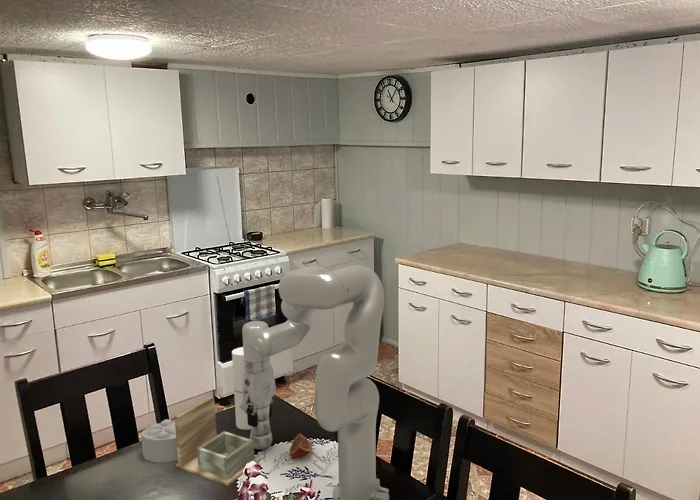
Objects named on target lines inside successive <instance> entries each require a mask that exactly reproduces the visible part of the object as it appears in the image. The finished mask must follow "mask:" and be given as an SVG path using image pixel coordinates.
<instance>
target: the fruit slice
mask: <svg viewBox="0 0 700 500" xmlns="http://www.w3.org/2000/svg"><path fill="white" fill-rule="evenodd" d="M288 451H289V452H288V454H289V455H290V456H291V457H292V458H296V459H300V458H303V457H307V456H308V455H309V454H311V452H312V451H313V446H312V443H311V441H309V439H308V438H307V437H305V435H303V434H302V433H300V432H299V433H298V434H297V435H296V436H295V437H294V438H293V440H292V443H291V445H290V448H289V450H288Z"/></svg>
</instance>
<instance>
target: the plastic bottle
mask: <svg viewBox="0 0 700 500" xmlns="http://www.w3.org/2000/svg"><path fill="white" fill-rule="evenodd" d="M250 403H251V401H250ZM252 408H253V406H251V405H250V409H252ZM269 408H270V399H267V400H266V401H265V402H264V403H262V404H261V405H259V406H257V407H256V413H255V414H257V427H253V426H251V429H250V435H249V439H251V440H253V443H254V450H257V451H259V450H260V451H262V450H267V449H268V448H270V447H271V446H272V443H273V435H272V431H271V424H270V417H269Z"/></svg>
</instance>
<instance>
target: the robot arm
mask: <svg viewBox="0 0 700 500" xmlns="http://www.w3.org/2000/svg"><path fill="white" fill-rule="evenodd" d="M278 293H279V297H280V299H281V300H282V301H281V304H280V309H281V313H282V314H283V315H284V317H286V319H287V320H286V321H285V322H283V323H280V324H276V325H273V326H271V327H269V324H267V323H266V322H265V321H261V320H253V321H249V322H246V323H244V325H243V326H242V330H241V331H242V333H241V334H242V347H243V352H244V370H245V371H244V375H243V401H242V403H241V405H240V408H241V409H242V410H243V411H244V412H246V413H247V419H248V425H249V426H253V427H257V414H255V413H256V407H257V406H259V405H261V404H262V403H264V402H265V401H266V400H267V399H270V408H269V418H272V416H273V411H272V408H273V407H272V404H273V402H274V400H273V399H274V396H275V395H276V392H277V386H276V380H275V373H274V368H273V365H272V364H271V357H272V356H275V355H278V354H280V353H282V352H284V351H287V350H290V349H292V348H295V347H297V346H298V345H299V344H300V343H301V342H302V341H303V340H304V339H305V337H306V336H307V335H308V333H309V332H310V330H311V327H312V315H313V314H314V312H315V311H316V310H321V311H323V310H324V311H325V310H328V311H329V310H333V309H336V308H338V307H341V306H344V305H347V304H350V303H352V306H351V308H350V310H349V312H348V315H347V317H346V319H345V324H344V335H343V339H342V341H341V342H342V343H341V344H340V345H337V346H336V347H333V348H331V349H329V350H327V351H325V352H324V353H323V354H322V355H321V357H320V358H319V360H318V361H317V362H318V363H317V365H316V373H315V385H314V387H315V389H314V403H313V405H314V406H313V407H314V408H313V409H314V410H313V411H314V415H315V418H316V421H317V424H318V425H319V426H320V427H321V428H322V429H324V431H328V432H333V433H335V432H337V459H338V460H337V461H338V463H337V464H338V465H337V466H338V482H337V483H336V485H335V487H333V490H332V498H333V500H390V494H389V491H390V490H389V488H386V487H382V486H381V485H380V484H381V482H380V478H377V474H376V471H377V469H376V468H377V465H376V463H377V461H376V457H377V455H376V449H377V447H376V442H377V441H376V438H377V437H376V430H377V429H376V426H377V425H376V424H377V416H378V411H379V406H380V405H379V404H380V393H379V390H378V388H377V386H376V384H375V383H374V382H373V381H372V380H371V379H369V378H368V377H369V376H371V375H372V374H373V373H374V372H375V370H376V368H377V365H378V364H377V363H378V355H379V354H378V353H379V345H380V335H381V325H382V318H383V312H384V307H385V291H384V286H383V284H382V281H381V279H380V277H379V276H378V274H377V273H376V272H375V271H374V270H373V269H372V268H370V267H368V266H365V265H361V264H360V265H359V264H358V265H350V266H345V267H341V268H338V269H335V270H331V271H329V269H328V268H326V267H324V266H323V265H322V266H321V265H309V266H306V267H301V268H297V269H293V270H290V271H288V272H286V273H284V275H283V276H282V277H281V278H280V281H279V283H278ZM250 401H251V403H250ZM250 405H251V406H253V408H252V409H250Z"/></svg>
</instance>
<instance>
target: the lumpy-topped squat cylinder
mask: <svg viewBox="0 0 700 500" xmlns="http://www.w3.org/2000/svg"><path fill="white" fill-rule="evenodd" d="M140 436H141V437H140V438H141V447H142V449H141V450H142V457H143V459H144V460H146V461H148V462H152V463H169V462H175V461H176V462H178V454H177V441H176V429H175V421H173V420H171V419H168V418H167V419H164V420H162V421H161V422H159V423H158V422H157V423H154V424H151V425H150V426H149V427H147V428H145V429H144V430H143V431H141V434H140Z"/></svg>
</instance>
